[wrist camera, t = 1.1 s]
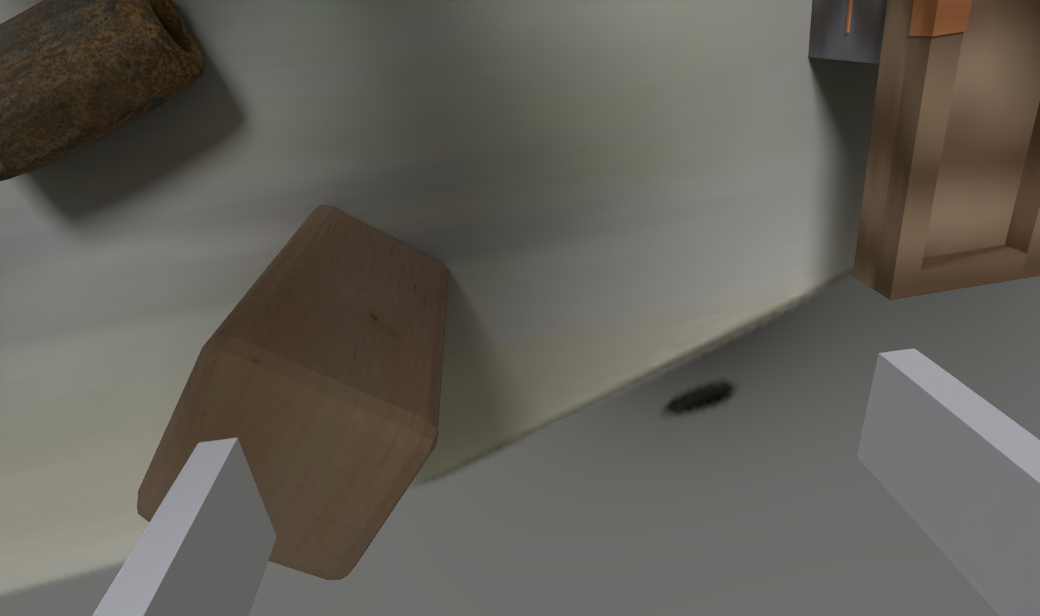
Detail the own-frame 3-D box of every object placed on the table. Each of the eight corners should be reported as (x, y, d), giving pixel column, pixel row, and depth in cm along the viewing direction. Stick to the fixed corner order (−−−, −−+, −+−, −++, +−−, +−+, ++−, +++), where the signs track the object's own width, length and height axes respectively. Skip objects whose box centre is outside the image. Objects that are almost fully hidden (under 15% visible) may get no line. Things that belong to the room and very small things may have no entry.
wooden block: (454, 264, 42) (446, 443, 24) (391, 369, 45) (343, 595, 27) (321, 195, 39) (201, 339, 21) (265, 312, 43) (119, 524, 25)
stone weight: (44, 189, 38) (-36, 220, 32) (-52, 87, 35) (-160, 101, 29) (233, 67, 36) (186, 75, 30) (147, -52, 33) (76, -70, 27)
